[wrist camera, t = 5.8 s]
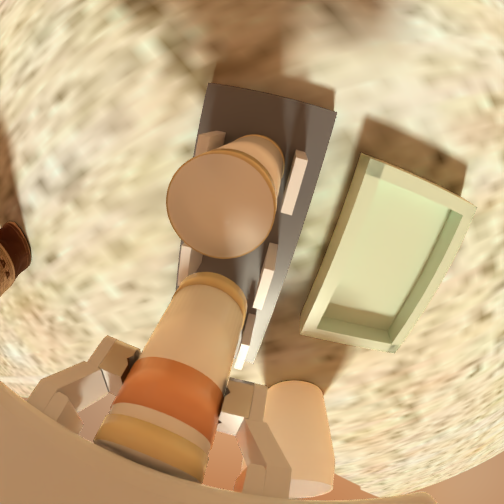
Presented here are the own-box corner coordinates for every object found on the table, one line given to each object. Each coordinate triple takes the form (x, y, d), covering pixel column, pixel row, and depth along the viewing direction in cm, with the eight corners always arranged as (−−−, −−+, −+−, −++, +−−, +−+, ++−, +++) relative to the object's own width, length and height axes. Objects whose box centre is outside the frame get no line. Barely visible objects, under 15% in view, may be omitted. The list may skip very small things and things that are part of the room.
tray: (360, 152, 17) (370, 158, 15) (460, 196, 17) (477, 207, 15) (300, 314, 24) (299, 334, 22) (389, 334, 24) (394, 353, 21)
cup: (330, 413, 31) (329, 498, 20) (259, 413, 32) (244, 496, 22) (336, 370, 27) (340, 476, 16) (250, 371, 28) (228, 474, 18)
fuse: (232, 128, 16) (174, 142, 8) (291, 142, 16) (288, 168, 8) (220, 183, 18) (161, 243, 10) (276, 198, 18) (260, 270, 10)
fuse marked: (180, 263, 13) (80, 423, 6) (254, 283, 13) (206, 473, 6) (176, 317, 15) (106, 459, 7) (239, 336, 15) (198, 492, 7)
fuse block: (214, 84, 16) (188, 76, 12) (333, 112, 16) (347, 111, 12) (177, 329, 27) (159, 366, 22) (255, 352, 27) (247, 392, 22)
